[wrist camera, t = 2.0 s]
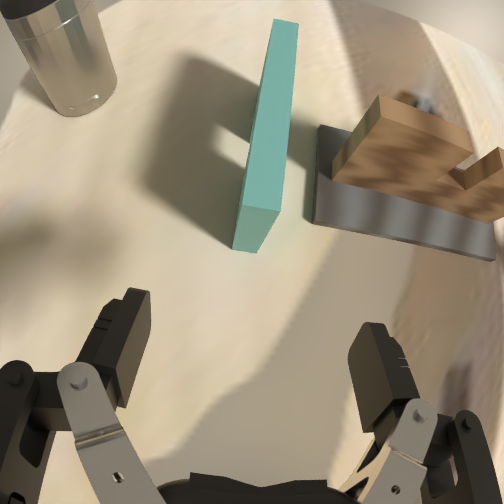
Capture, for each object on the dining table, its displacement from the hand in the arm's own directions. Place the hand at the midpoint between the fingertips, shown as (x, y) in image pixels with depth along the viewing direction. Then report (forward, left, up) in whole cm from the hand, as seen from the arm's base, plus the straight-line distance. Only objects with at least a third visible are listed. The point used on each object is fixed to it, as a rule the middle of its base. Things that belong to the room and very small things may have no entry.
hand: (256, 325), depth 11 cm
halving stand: (-5, +26, -19) cm, 32 cm away
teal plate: (-15, +9, -19) cm, 25 cm away
